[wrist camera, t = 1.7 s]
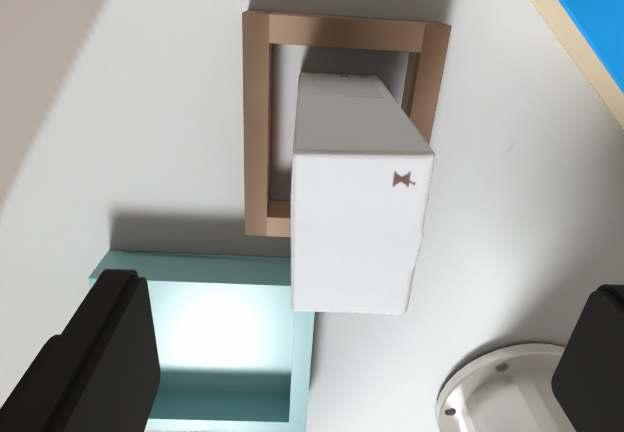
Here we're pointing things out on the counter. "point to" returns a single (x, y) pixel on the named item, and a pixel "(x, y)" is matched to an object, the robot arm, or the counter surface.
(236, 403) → the tray
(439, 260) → the counter surface
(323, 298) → the skincare box
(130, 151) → the counter surface
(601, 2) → the book
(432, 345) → the counter surface
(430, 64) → the holder
